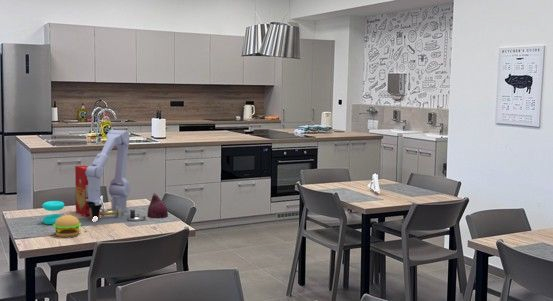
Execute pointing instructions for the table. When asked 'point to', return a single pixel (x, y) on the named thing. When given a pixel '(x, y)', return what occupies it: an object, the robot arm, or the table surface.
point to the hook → (103, 213)
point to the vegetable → (157, 208)
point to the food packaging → (81, 191)
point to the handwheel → (135, 216)
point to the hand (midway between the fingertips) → (94, 217)
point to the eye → (119, 212)
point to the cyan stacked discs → (52, 207)
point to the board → (105, 220)
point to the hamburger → (67, 226)
